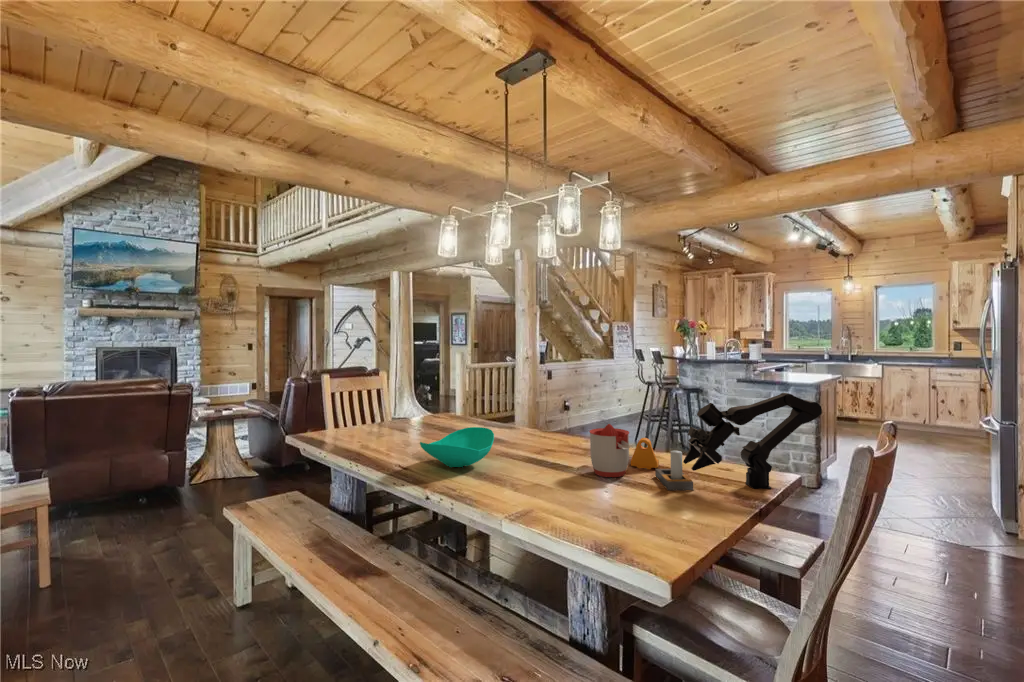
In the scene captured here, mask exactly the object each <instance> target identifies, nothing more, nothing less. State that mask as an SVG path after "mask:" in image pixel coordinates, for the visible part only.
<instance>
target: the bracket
mask: <svg viewBox="0 0 1024 682" xmlns="http://www.w3.org/2000/svg"><path fill="white" fill-rule="evenodd" d="M643 443H644V444H645V445H646V446H647V447H644V446H642V444H643ZM659 465H660V459H658V458H657V456H656V454H655V452H654V449H653V445H652V442H651V439H649V438H647V437H641V438H640V439H639V440H638V442H637V444H636V447H635V448H634V452H633V454H632V457H631V459H630V466H631V467H636V468H637V469H640V468H647V469H646V470H652V469H654V468H655V469H659Z"/></svg>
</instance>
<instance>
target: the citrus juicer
mask: <svg viewBox="0 0 1024 682" xmlns="http://www.w3.org/2000/svg"><path fill="white" fill-rule="evenodd" d="M588 431H589V441H590V442H589V448H590V460H591V465H592V469H593V471H594V473H595V475H597V476H600V477H603V478H607V477H612V478H619V477H623V476H625V474H626V471H627V469H628V465H629V461H630V460H629V458H630V436H629V435H630V431H629V430H626V429H622V428H615V427H614V426H613V425H612V424H611V423H608V424H607V425H605V426H604V427H602V428H601V427H599V428H593V429H590V430H588Z"/></svg>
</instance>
